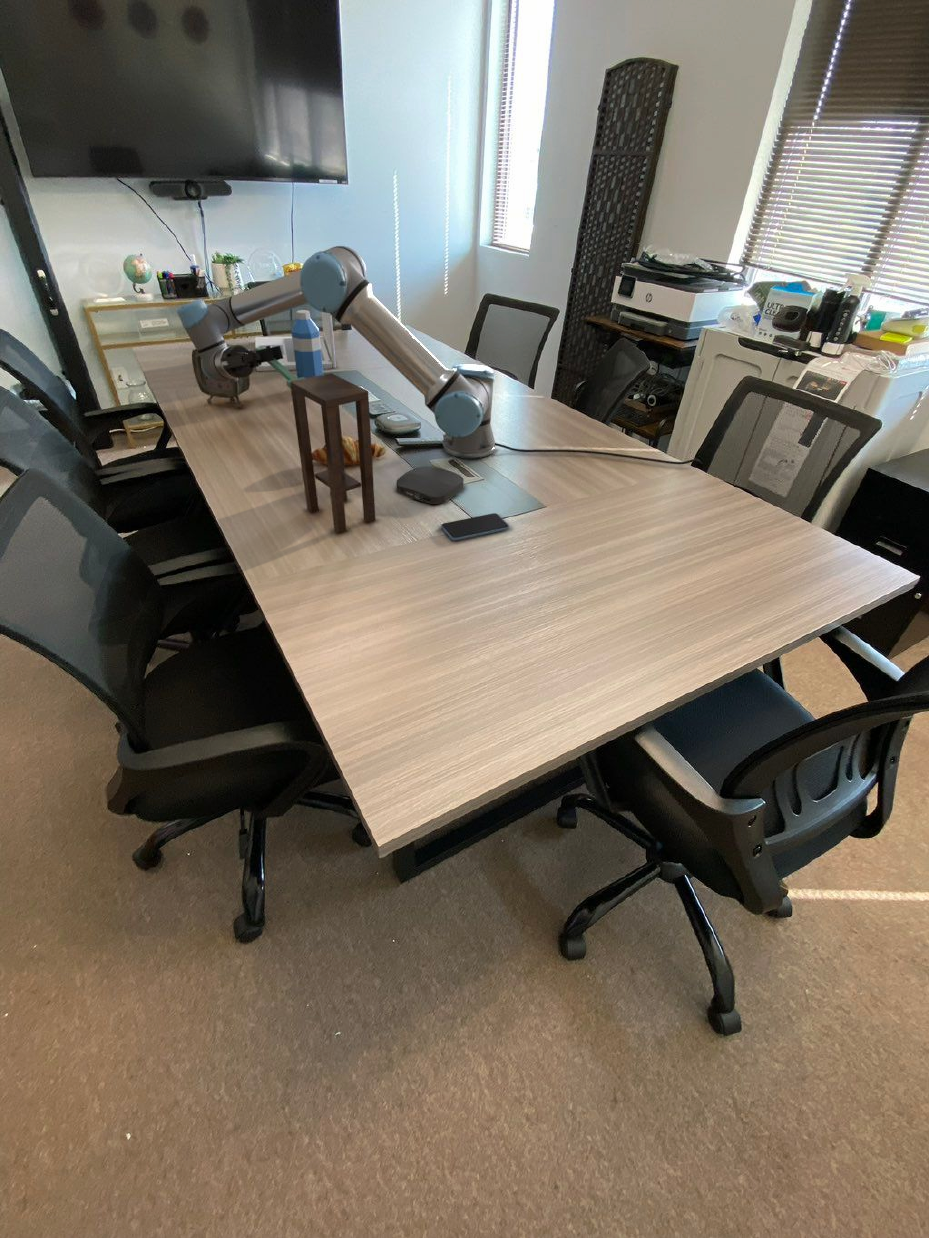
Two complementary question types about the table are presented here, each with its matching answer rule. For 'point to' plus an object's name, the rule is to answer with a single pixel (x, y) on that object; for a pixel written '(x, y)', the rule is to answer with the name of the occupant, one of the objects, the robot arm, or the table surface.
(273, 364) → the fork
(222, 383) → the tabletop clock
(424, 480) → the media streaming box
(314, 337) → the water bottle
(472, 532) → the smartphone
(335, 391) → the plant stand
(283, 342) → the laptop
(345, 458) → the croissant
